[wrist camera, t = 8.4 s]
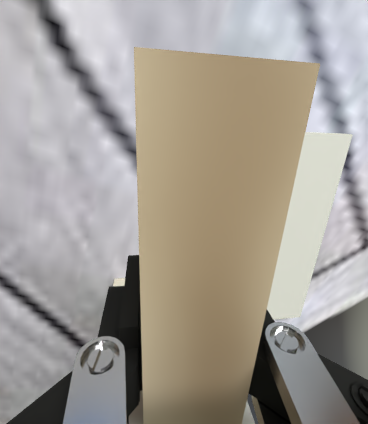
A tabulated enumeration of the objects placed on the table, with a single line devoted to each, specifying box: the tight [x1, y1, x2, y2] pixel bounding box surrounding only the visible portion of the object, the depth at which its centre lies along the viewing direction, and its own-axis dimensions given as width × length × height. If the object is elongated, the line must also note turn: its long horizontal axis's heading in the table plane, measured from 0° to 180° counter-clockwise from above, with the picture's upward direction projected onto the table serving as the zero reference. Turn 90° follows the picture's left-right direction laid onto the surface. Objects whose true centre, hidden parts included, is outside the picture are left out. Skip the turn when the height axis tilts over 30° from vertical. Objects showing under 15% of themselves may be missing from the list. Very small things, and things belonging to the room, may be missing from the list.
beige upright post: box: [129, 47, 320, 424], centre depth 9 cm, size 7×15×5 cm, turn 177°
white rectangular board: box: [267, 132, 352, 320], centre depth 29 cm, size 14×24×2 cm, turn 177°
